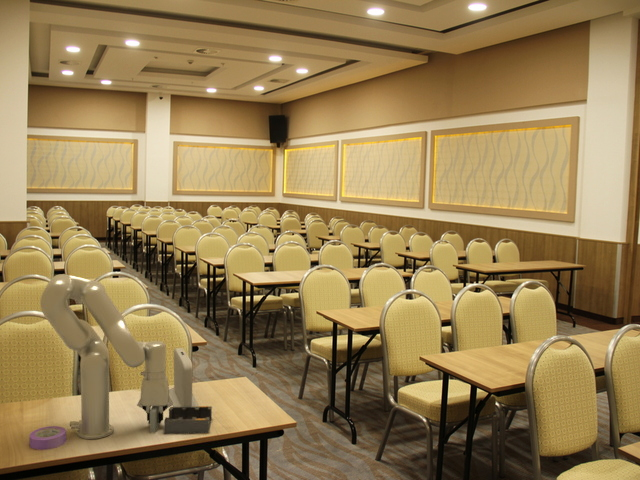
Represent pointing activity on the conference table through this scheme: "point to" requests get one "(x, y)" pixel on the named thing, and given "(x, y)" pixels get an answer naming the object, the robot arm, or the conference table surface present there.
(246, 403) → the conference table surface
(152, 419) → the panel
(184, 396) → the wireless router
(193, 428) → the rack
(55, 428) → the masking tape
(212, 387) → the conference table surface
